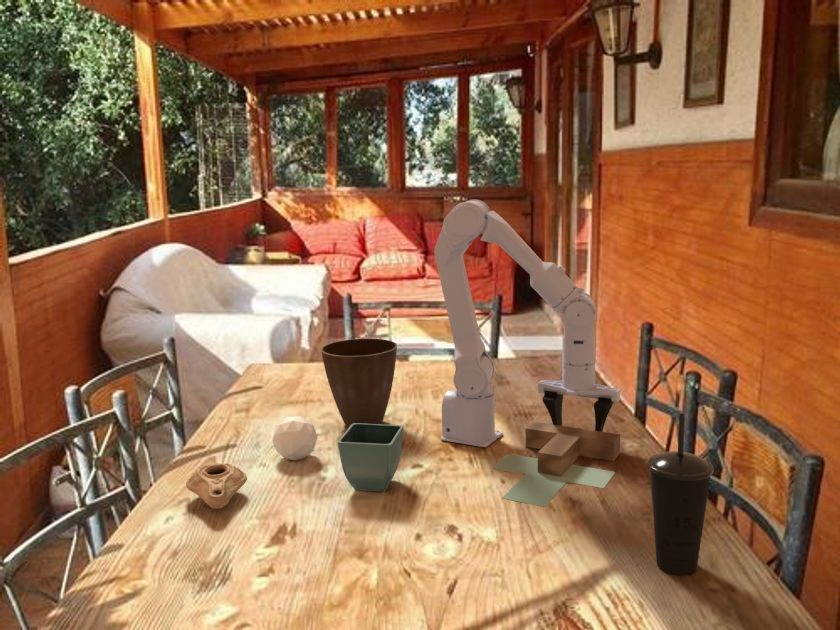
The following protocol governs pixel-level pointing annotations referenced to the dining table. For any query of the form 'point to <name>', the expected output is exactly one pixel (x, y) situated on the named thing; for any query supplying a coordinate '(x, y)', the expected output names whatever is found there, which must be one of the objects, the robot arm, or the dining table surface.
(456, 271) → the robot arm
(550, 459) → the t block
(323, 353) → the plant pot
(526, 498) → the t mat
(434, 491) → the dining table surface
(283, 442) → the geometric ball
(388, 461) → the flower pot
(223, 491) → the pottery oil lamp
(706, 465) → the drinking cup
